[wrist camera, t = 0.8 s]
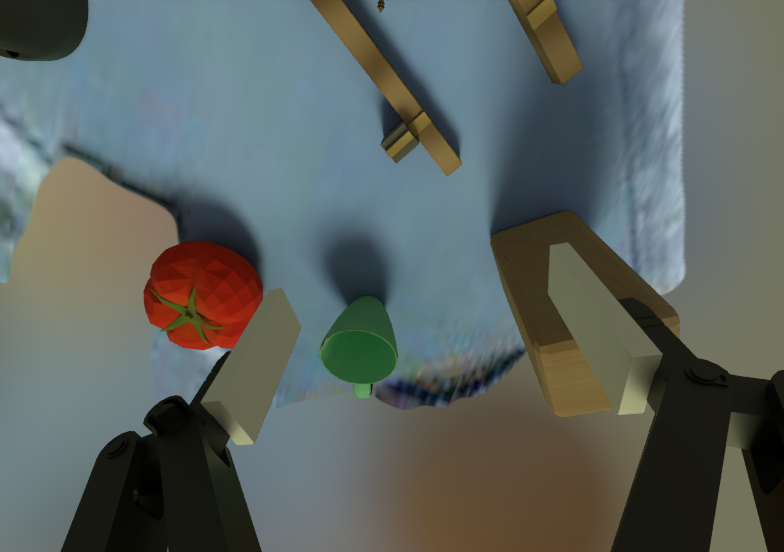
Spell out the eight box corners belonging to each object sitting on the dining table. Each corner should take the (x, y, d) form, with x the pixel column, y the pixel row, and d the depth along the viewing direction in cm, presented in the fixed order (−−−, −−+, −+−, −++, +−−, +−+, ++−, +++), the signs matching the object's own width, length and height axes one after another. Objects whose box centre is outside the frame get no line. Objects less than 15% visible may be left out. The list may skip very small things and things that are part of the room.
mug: (332, 280, 47) (314, 328, 38) (400, 282, 46) (397, 330, 38) (341, 353, 55) (328, 405, 46) (400, 355, 54) (397, 408, 46)
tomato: (273, 238, 44) (240, 279, 35) (275, 327, 53) (248, 377, 44) (164, 217, 43) (104, 254, 35) (184, 311, 52) (140, 358, 44)
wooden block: (486, 232, 41) (534, 348, 25) (570, 205, 39) (688, 313, 22) (504, 292, 46) (554, 423, 29) (579, 271, 44) (682, 402, 27)
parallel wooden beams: (240, -37, 29) (215, -51, 25) (395, -286, 22) (392, -357, 18) (424, 186, 39) (425, 199, 35) (573, 67, 31) (594, 67, 28)
